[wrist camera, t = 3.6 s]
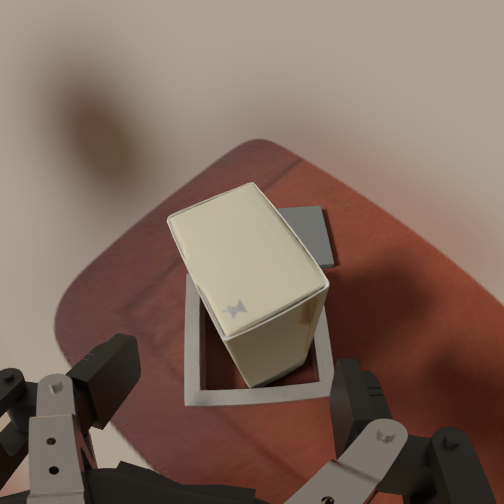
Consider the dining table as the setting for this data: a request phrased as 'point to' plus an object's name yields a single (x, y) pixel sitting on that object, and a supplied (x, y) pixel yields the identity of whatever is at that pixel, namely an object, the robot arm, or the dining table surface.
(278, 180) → the dining table surface
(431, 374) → the dining table surface
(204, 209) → the skincare box
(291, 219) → the pad
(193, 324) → the grey square frame
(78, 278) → the dining table surface
